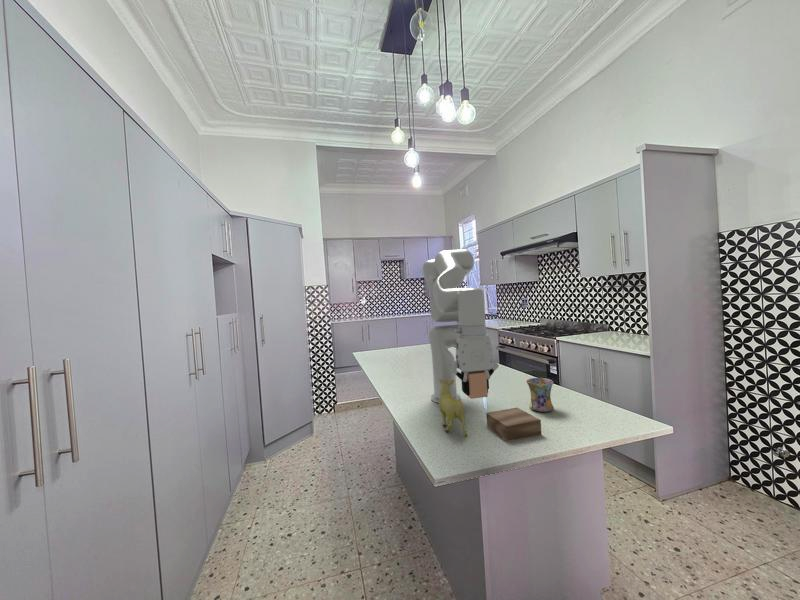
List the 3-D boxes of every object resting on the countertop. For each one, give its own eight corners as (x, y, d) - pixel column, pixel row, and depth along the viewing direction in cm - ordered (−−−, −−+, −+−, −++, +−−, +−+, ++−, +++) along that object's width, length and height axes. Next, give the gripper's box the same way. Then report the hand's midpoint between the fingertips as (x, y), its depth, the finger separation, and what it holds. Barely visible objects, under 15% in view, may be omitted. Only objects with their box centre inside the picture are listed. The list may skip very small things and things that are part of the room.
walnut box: (487, 427, 109) (486, 412, 109) (518, 421, 112) (517, 407, 112) (507, 442, 98) (506, 426, 98) (541, 435, 101) (540, 419, 101)
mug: (560, 412, 117) (558, 383, 117) (534, 414, 117) (533, 385, 117) (544, 401, 129) (542, 375, 129) (521, 403, 129) (519, 376, 129)
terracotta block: (464, 393, 97) (463, 370, 97) (480, 391, 98) (479, 368, 98) (471, 398, 92) (469, 374, 92) (487, 396, 93) (486, 372, 93)
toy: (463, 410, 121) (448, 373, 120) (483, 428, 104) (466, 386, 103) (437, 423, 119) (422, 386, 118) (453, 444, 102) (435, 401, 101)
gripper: (448, 335, 89) (451, 400, 90) (506, 330, 92) (509, 393, 93) (440, 331, 97) (443, 392, 97) (494, 327, 99) (497, 386, 100)
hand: (475, 392), depth 95 cm, fingers closed on terracotta block, 5 cm apart
